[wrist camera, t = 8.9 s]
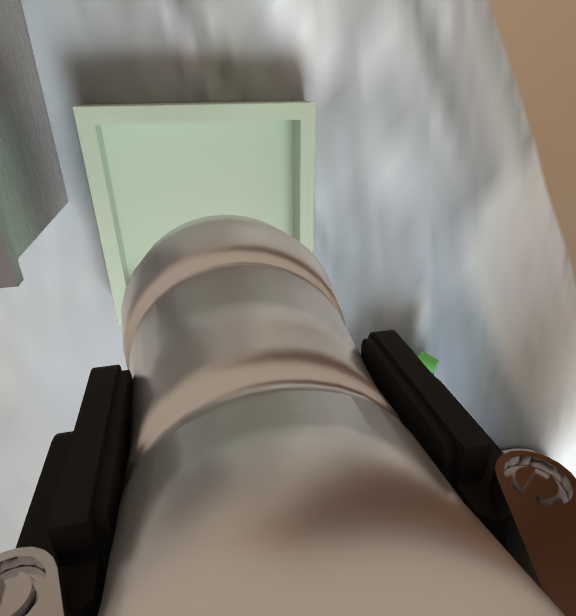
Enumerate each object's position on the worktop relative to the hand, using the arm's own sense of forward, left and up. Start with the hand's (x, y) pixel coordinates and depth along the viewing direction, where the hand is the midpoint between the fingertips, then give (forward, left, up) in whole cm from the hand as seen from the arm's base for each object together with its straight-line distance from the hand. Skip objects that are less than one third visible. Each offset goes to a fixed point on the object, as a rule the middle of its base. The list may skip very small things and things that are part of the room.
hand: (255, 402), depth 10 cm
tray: (0, 0, -18) cm, 18 cm away
